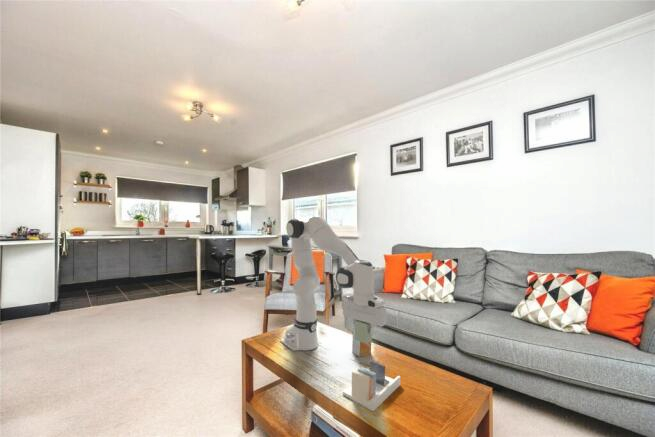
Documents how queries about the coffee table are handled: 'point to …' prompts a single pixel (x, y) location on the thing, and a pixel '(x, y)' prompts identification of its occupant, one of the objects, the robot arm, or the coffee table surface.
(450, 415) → the coffee table surface
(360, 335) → the sage green cuboid
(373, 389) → the slotted holder
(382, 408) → the coffee table surface
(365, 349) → the small box
